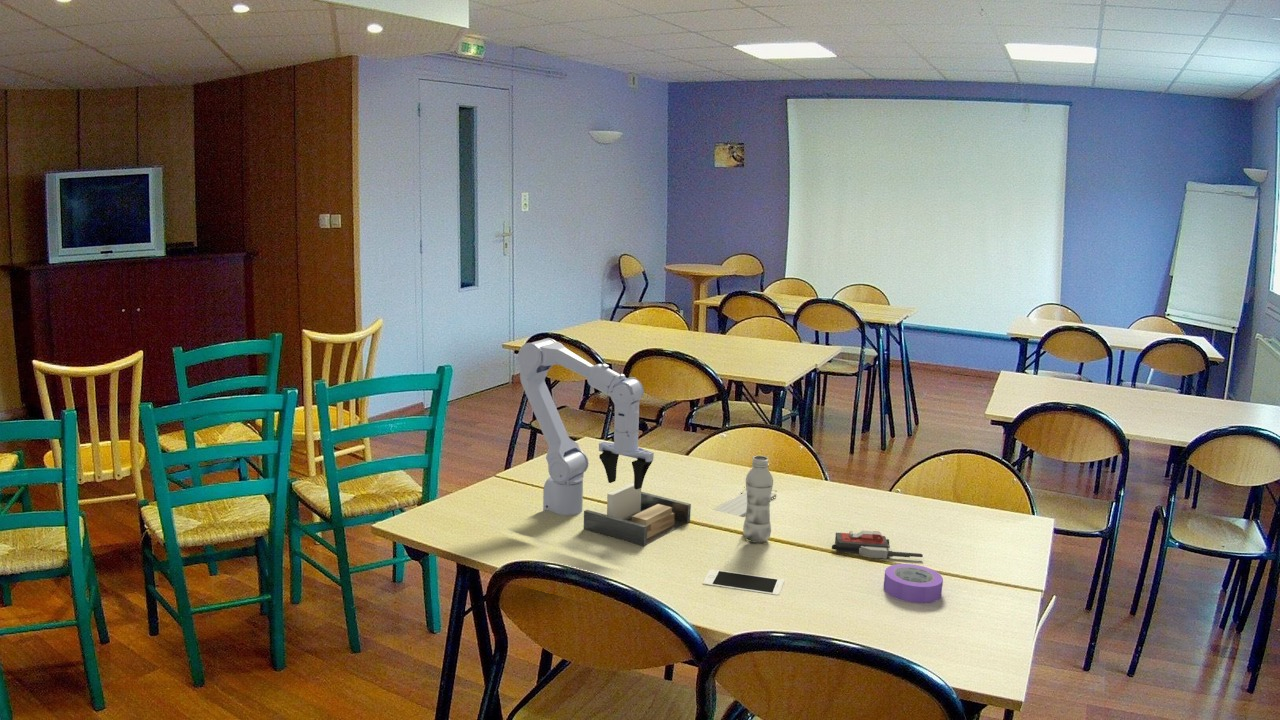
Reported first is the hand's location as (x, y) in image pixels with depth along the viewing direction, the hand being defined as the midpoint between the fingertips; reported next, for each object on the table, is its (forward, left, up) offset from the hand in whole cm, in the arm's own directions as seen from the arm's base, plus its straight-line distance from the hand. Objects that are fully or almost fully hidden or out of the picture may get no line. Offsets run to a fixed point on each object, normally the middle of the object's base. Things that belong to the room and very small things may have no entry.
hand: (624, 485), depth 235 cm
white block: (0, 0, -9) cm, 9 cm away
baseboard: (+14, +28, -11) cm, 33 cm away
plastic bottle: (+29, +12, -11) cm, 34 cm away
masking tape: (+68, +7, -11) cm, 70 cm away
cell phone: (+38, -11, -11) cm, 42 cm away
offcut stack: (+8, 0, -9) cm, 13 cm away
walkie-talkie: (+54, +23, -11) cm, 60 cm away
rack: (+4, 0, -10) cm, 11 cm away
